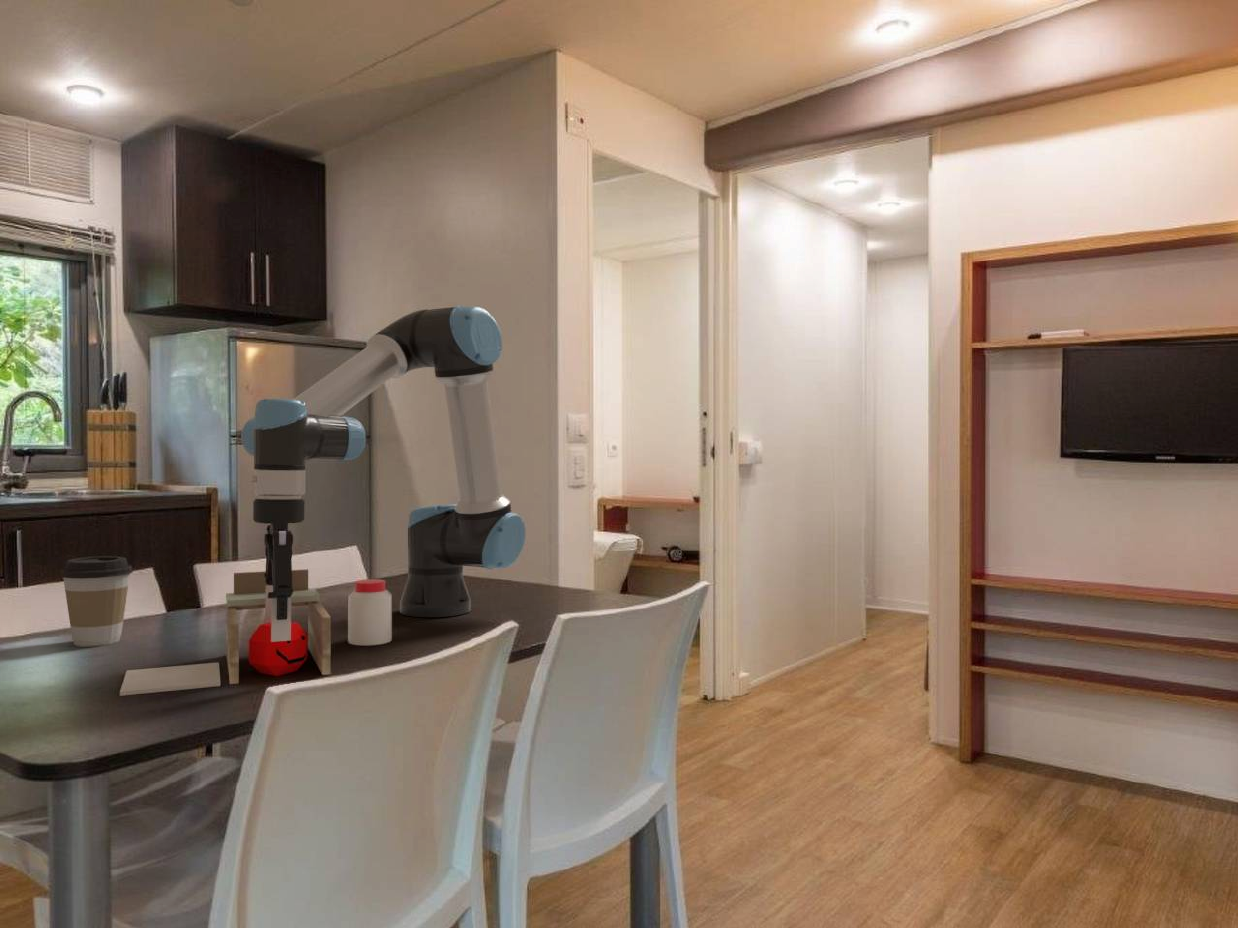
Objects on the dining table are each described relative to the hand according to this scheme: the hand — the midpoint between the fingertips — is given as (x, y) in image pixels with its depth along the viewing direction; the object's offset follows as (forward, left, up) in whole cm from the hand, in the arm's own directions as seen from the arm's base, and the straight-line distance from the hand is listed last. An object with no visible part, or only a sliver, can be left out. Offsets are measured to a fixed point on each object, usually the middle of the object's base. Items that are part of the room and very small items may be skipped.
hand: (277, 632), depth 138 cm
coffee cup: (+28, -36, -7) cm, 46 cm away
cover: (0, -14, +3) cm, 14 cm away
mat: (+15, -2, -6) cm, 16 cm away
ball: (0, -1, -7) cm, 7 cm away
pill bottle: (-17, -18, -7) cm, 26 cm away
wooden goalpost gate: (0, -6, -6) cm, 9 cm away
